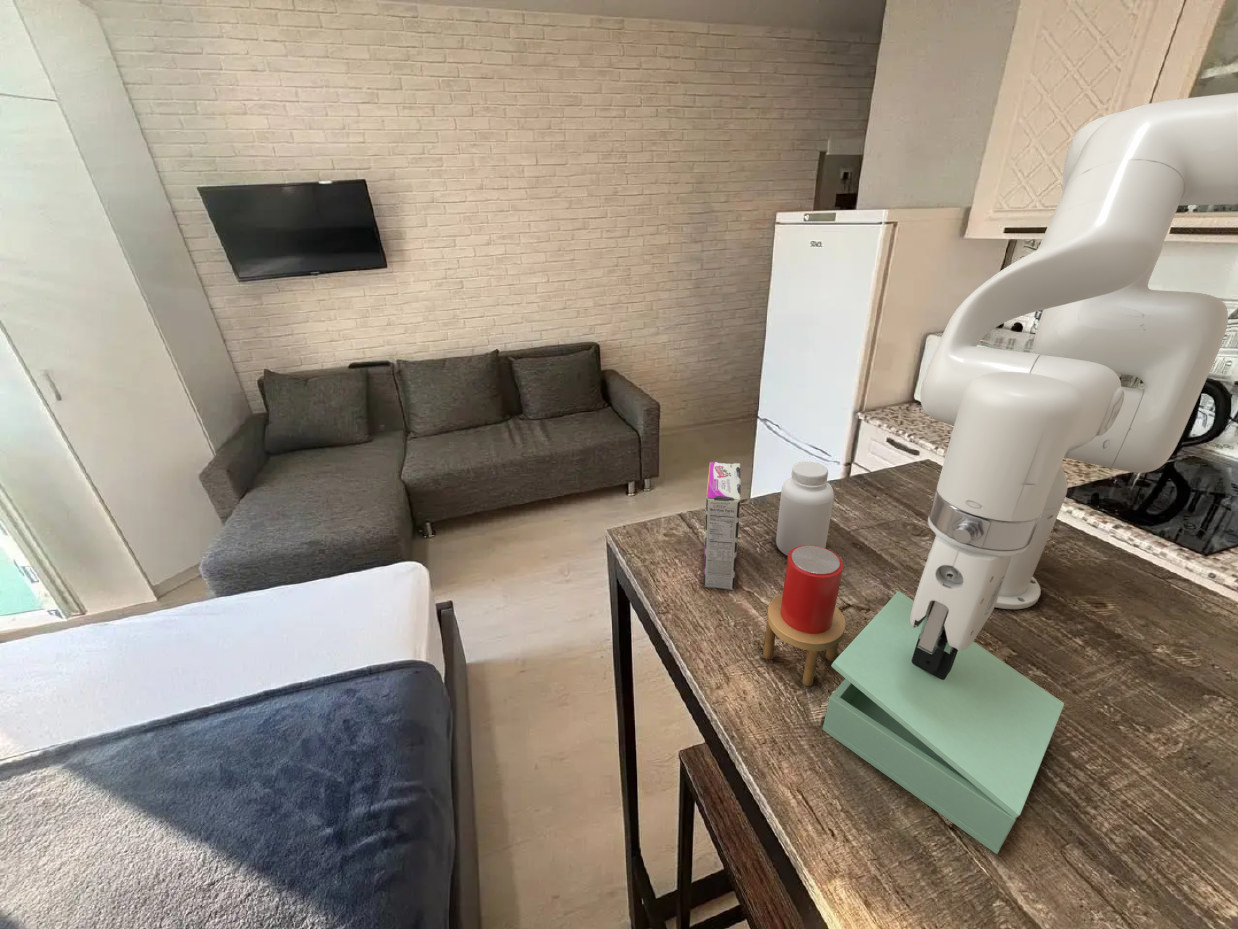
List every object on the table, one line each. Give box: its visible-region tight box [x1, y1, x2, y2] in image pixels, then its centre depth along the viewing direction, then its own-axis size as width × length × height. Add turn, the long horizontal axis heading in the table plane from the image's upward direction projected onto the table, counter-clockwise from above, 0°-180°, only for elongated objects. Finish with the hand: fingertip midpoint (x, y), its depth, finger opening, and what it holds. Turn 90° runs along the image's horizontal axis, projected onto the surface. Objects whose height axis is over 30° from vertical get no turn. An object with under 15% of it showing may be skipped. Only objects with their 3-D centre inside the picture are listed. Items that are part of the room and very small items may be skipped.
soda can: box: [780, 545, 844, 634], centre depth 60 cm, size 6×6×9 cm
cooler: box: [822, 677, 1018, 855], centre depth 54 cm, size 17×16×5 cm
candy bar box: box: [703, 461, 742, 591], centre depth 78 cm, size 11×5×16 cm, turn 168°
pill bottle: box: [775, 461, 835, 557], centre depth 83 cm, size 8×8×15 cm
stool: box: [762, 592, 846, 687], centre depth 64 cm, size 9×9×7 cm
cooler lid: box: [830, 590, 1065, 818], centre depth 52 cm, size 18×16×1 cm
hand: (930, 667), depth 52 cm, fingers closed
